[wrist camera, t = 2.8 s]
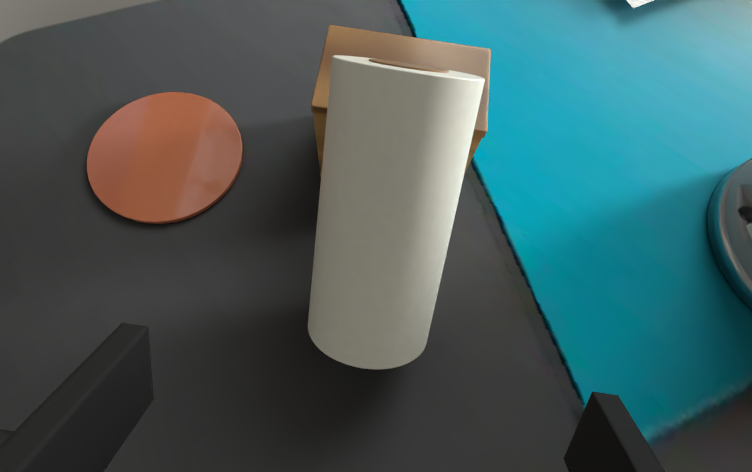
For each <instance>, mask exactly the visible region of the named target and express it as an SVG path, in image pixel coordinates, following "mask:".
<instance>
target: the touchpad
mask: <svg viewBox="0 0 752 472" xmlns="http://www.w3.org/2000/svg"><path fill="white" fill-rule="evenodd" d="M626 1H627V2H628V3H629V4H630V5H631V6H632V8H635V7H638V6H641V5H643V4H646V3H648V2H651V1H654V0H626Z"/></svg>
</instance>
